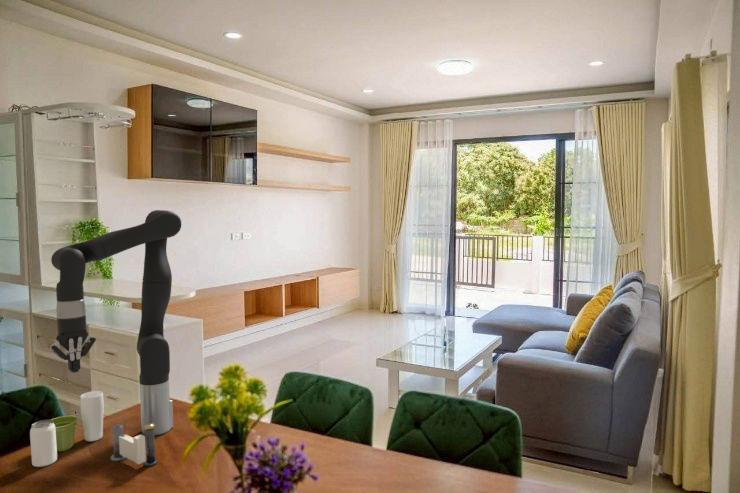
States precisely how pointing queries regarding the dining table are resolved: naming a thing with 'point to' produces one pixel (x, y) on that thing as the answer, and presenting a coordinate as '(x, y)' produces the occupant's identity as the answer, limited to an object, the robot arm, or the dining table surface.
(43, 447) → the can
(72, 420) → the plant pot
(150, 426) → the post
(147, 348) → the robot arm
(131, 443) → the gate
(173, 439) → the dining table surface
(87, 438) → the white tapered cup
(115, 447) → the hinge post
